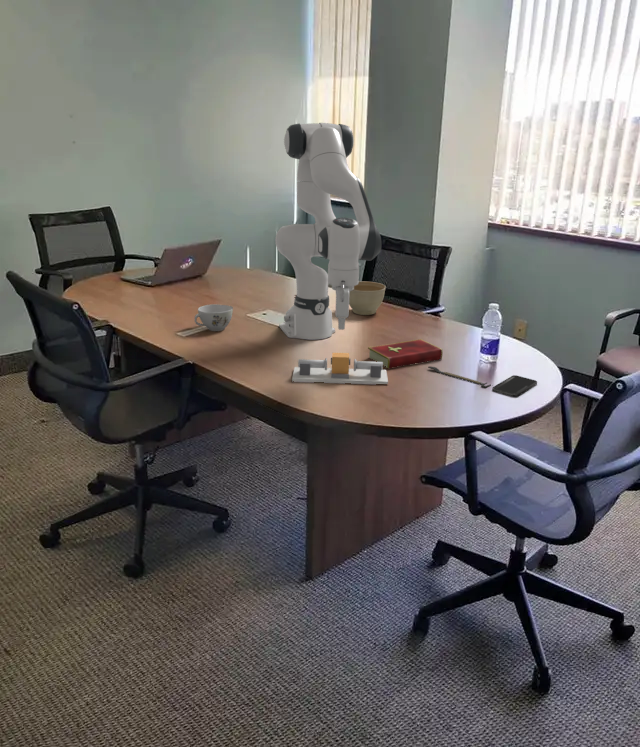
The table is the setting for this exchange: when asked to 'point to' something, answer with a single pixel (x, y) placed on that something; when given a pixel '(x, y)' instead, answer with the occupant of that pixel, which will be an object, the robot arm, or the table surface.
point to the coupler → (340, 363)
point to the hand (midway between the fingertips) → (341, 324)
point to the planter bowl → (366, 297)
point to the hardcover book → (405, 353)
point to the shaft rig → (359, 375)
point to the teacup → (214, 316)
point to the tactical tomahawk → (459, 377)
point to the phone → (514, 386)
